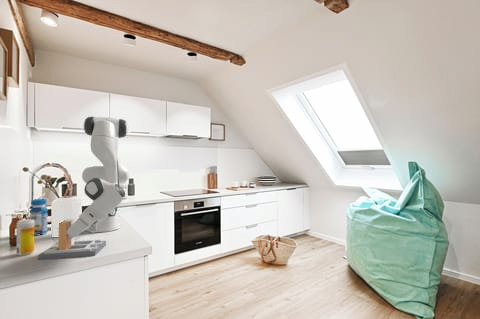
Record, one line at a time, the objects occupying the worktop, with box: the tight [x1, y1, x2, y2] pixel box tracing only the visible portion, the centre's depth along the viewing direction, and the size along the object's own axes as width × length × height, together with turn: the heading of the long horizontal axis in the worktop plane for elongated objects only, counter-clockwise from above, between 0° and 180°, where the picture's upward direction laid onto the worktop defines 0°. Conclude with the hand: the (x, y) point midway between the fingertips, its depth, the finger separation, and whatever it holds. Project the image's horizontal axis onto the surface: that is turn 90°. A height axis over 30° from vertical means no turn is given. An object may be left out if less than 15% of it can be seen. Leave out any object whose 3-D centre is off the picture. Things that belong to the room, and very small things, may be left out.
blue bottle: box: [28, 198, 49, 236], centre depth 146 cm, size 8×8×20 cm
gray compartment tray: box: [37, 218, 107, 260], centre depth 116 cm, size 22×15×14 cm
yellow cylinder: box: [16, 218, 35, 257], centre depth 114 cm, size 6×6×15 cm
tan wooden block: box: [58, 221, 71, 250], centre depth 113 cm, size 3×5×12 cm, turn 11°
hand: (70, 237), depth 113 cm, fingers closed, pressing on tan wooden block
